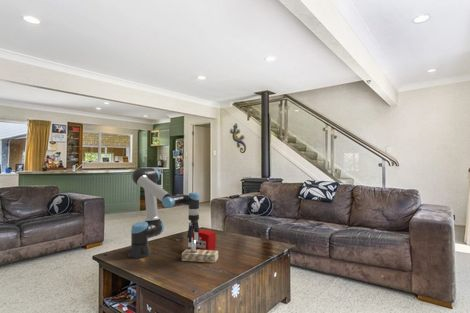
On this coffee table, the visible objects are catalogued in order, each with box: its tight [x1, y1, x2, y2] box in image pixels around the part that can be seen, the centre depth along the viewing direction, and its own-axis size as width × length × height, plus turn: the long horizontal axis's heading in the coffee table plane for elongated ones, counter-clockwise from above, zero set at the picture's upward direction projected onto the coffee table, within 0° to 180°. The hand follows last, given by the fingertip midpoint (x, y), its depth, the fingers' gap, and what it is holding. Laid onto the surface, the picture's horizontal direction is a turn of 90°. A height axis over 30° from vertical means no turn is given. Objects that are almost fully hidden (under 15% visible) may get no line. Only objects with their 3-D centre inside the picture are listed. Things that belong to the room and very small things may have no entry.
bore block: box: [181, 248, 219, 264], centre depth 197 cm, size 24×10×5 cm, turn 81°
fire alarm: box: [192, 229, 217, 251], centre depth 217 cm, size 16×11×15 cm
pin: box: [190, 240, 196, 253], centre depth 198 cm, size 4×4×12 cm
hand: (193, 243), depth 198 cm, fingers open, 13 cm apart
